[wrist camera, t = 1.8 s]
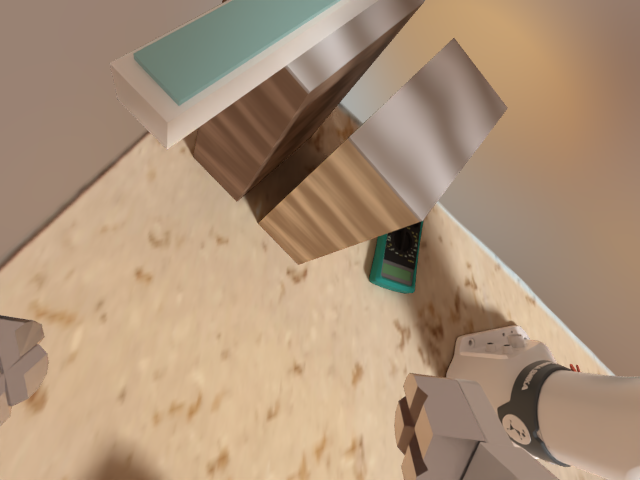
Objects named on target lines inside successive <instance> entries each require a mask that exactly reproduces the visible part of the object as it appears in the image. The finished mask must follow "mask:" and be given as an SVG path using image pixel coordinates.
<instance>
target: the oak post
mask: <svg viewBox="0 0 640 480" xmlns="http://www.w3.org/2000/svg"><path fill="white" fill-rule="evenodd" d="M506 110H507V106H506V105H505V104H504V102H503V101H502V100H501V99H500V97H499V96H498V95H497V93H496V92H495V91H494V90H493V88H492V87H491V85H490V84H489V83H488V82H487V80H486V79H485V78H484V76H483V75H482V74H481V72H480V71H479V70H478V68H477V67H476V66H475V65H474V63H473V62H472V61H471V59H470V58H469V57H468V55H467V54H466V53H465V52H464V50H463V49H462V48H461V46H460V45H459V44H458V42H457V41H456V40H455V38H453V39H452V40H451V41H450V42H449V43H448V44H447V45H446V46H445V47H444V48H443V49H442V50H441V51H440V52H438V53H437V54H436V55H435V56H434V57H433V58H432V59H431V60H430V61H429V62H428V63H427V64H426V65H425V66H424V67H423V68H421V69H420V70H419V71H418V73H416V74H415V75H414V76H413V77H412V78H411V79H410V80H409V81H408V82H407V83H406V84H405V85H404V86H402V87H401V88H400V89H399V90H398V91H397V92H396V93H395V94H394V95H393V96H392V97H391V98H390V99H389V100H388V101H387V102H386V103H385V104H383V105H382V106H381V107H380V108H379V109H378V110H377V111H376V112H375V113H374V114H373V115H372V116H371V117H370V118H369V119H368V120H367V121H365V122H364V123H363V124H362V125H361V126H360V127H359V128H358V129H357V130H356V131H355V132H354V133H353V134H352V135H351V136H350V137H349V138H348V139H346V140H345V141H344V142H343V143H342V144H341V145H340V146H339V147H338V148H337V149H336V150H335V151H334V152H333V153H332V154H331V155H330V156H329V157H327V158H326V159H325V160H324V161H323V162H322V163H321V164H320V165H319V166H318V167H317V168H316V169H315V170H314V171H313V172H312V173H311V174H310V175H308V176H307V177H306V178H305V179H304V180H303V181H302V182H301V183H300V184H299V185H298V186H297V187H296V188H295V189H294V190H293V191H292V192H291V193H289V194H288V195H287V196H286V197H285V198H284V199H283V200H282V201H281V202H280V203H279V204H278V205H277V206H276V207H275V208H274V209H273V210H272V211H270V212H269V213H268V214H267V215H266V216H265V217H264V218H263V219H262V220H261V221H260V222H259V223H258V224H259V225H260V226H261V227H262V228H263V229H264V230H265V231H266V232H267V233H268V234H269V235H270V236H271V237H272V238H273V239H274V240H275V241H276V242H277V243H278V244H279V245H280V246H281V247H282V248H283V249H284V250H285V251H286V252H287V254H288V255H289V256H290V257H291V258H292V259H293V260H294V261H295V262H296V263H297V264H298V265H299V264H302V263H305V262H308V261H310V260H313V259H316V258H319V257H322V256H325V255H327V254H330V253H333V252H336V251H339V250H342V249H344V248H347V247H350V246H353V245H356V244H359V243H361V242H364V241H367V240H370V239H373V238H375V237H378V236H381V235H384V234H387V233H390V232H392V231H395V230H398V229H401V228H404V227H407V226H409V225H412V224H415V223H418V222H421V221H423V220H424V218H425V217H426V216H427V214H428V213H429V212H430V210H431V209H432V208H433V206H434V205H435V204H436V202H437V201H438V199H439V198H440V197H441V196H442V194H443V193H444V192H445V190H446V189H447V188H448V186H449V185H450V184H451V183H452V181H453V180H454V179H455V177H456V176H457V175H458V173H459V172H460V171H461V169H462V168H463V167H464V165H465V164H466V163H467V161H468V160H469V159H470V157H471V156H472V155H473V153H474V152H475V151H476V149H477V148H478V147H479V146H480V144H481V143H482V142H483V140H484V139H485V137H486V136H487V135H488V134H489V132H490V131H491V129H492V128H493V127H494V126H495V124H496V123H497V121H498V120H499V119H500V118H501V116H502V115H503V114H504V112H505V111H506Z"/></svg>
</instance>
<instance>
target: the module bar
mask: <svg viewBox="0 0 640 480" xmlns="http://www.w3.org/2000/svg"><path fill="white" fill-rule="evenodd" d="M377 1H378V0H227V1H226V2H224V3H222V4H220V5H218V6H216V7H214V8H212V9H211V10H209V11H207V12H205V13H203V14H201V15H199V16H197V17H196V18H194V19H192V20H190V21H188V22H186V23H184V24H182V25H180V26H179V27H177V28H175V29H173V30H171V31H169V32H167V33H165V34H163V35H162V36H160V37H158V38H156V39H154V40H152V41H150V42H148V43H147V44H145V45H143V46H141V47H139V48H137V49H135V50H133V51H131V52H130V53H128V54H126V55H124V56H122V57H120V58H118V59H116V60H114V61H113V62H111V63H110V68H111V72H112V77H113V81H114V85H115V90H116V95H117V100H118V101H119V102H120V103H121V104H122V105H123V106H124V107H125V108H126V109H127V110H128V111H129V112H130V113H131V114H132V115H133V116H134V117H135V118H136V119H137V120H138V121H139V122H140V123H141V124H142V125H143V126H144V127H145V128H146V129H147V130H148V131H149V132H150V133H151V134H152V135H153V136H154V137H155V138H156V139H157V140H158V141H159V142H160V143H161V144H162V145H163V146H164V147H165V148H166V149H167V150H168V149H169V148H170V147H172V146H173V145H175V144H176V143H177V142H179V141H180V140H182V139H183V138H184V137H186V136H187V135H189V134H190V133H192V132H193V131H194V130H196V129H197V128H199V127H200V126H201V125H203V124H204V123H206V122H207V121H209V120H210V119H211V118H213V117H214V116H216V115H217V114H218V113H220V112H221V111H223V110H224V109H225V108H227V107H228V106H230V105H231V104H233V103H234V102H235V101H237V100H238V99H240V98H241V97H242V96H244V95H245V94H247V93H248V92H250V91H251V90H252V89H254V88H255V87H257V86H258V85H259V84H261V83H262V82H264V81H265V80H266V79H268V78H269V77H271V76H272V75H274V74H275V73H276V72H278V71H279V70H281V69H282V68H283V67H285V66H286V65H288V64H289V63H291V62H292V61H293V60H295V59H296V58H298V57H299V56H300V55H302V54H303V53H305V52H306V51H307V50H309V49H310V48H312V47H313V46H315V45H316V44H317V43H319V42H320V41H322V40H323V39H324V38H326V37H327V36H329V35H330V34H332V33H333V32H334V31H336V30H337V29H339V28H340V27H341V26H343V25H344V24H346V23H347V22H348V21H350V20H351V19H353V18H354V17H356V16H357V15H358V14H360V13H361V12H363V11H364V10H365V9H367V8H368V7H370V6H371V5H373V4H374V3H375V2H377Z"/></svg>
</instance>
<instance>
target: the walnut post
mask: <svg viewBox="0 0 640 480" xmlns="http://www.w3.org/2000/svg"><path fill="white" fill-rule="evenodd" d="M226 1H227V0H223V1H222V3H224V2H226ZM424 1H425V0H378V1H377V2H375V3H374V4H373V5H371V6H370V7H368V8H367V9H365V10H364V11H363V12H361V13H360V14H358V15H357V16H356V17H354V18H353V19H351V20H350V21H348V22H347V23H346V24H344V25H343V26H341V27H340V28H339V29H337V30H336V31H334V32H333V33H332V34H330V35H329V36H327V37H326V38H324V39H323V40H322V41H320V42H319V43H317V44H316V45H315V46H313V47H312V48H310V49H309V50H307V51H306V52H305V53H303V54H302V55H300V56H299V57H298V58H296V59H295V60H293V61H292V62H291V63H289V64H288V65H286V66H285V67H283V68H282V69H281V70H279V71H278V72H276V73H275V74H274V75H272V76H271V77H269V78H268V79H266V80H265V81H264V82H262V83H261V84H259V85H258V86H257V87H255V88H254V89H252V90H251V91H250V92H248V93H247V94H245V95H244V96H242V97H241V98H240V99H238V100H237V101H235V102H234V103H233V104H231V105H230V106H228V107H227V108H225V109H224V110H223V111H221V112H220V113H218V114H217V115H216V116H214V117H213V118H211V119H210V120H209V121H207V122H206V123H204V124H203V125H201V126H200V127H199V129H198V134H197V139H196V145H195V150H194V155H193V157H194V158H195V159H196V160H197V161H198V162H199V163H200V164H201V165H202V166H203V167H204V168H205V169H206V170H207V172H208V173H209V174H210V175H211V176H212V177H213V178H214V179H215V180H216V181H217V182H218V183H219V184H220V185H221V186H222V187H223V188H224V189H225V190H226V191H227V192H228V193H229V194H230V195H231V196H232V197H233V198H234V199H235V200H236V201H238V200H239V199H241V198H242V197H243V196H244V195H245V194H246V193H247V192H249V191H250V190H251V189H252V188H253V187H254V186H255V185H257V184H258V183H259V182H260V181H261V180H262V179H263V178H265V177H266V176H267V175H268V174H269V173H270V172H271V171H273V170H274V169H275V168H276V167H277V166H278V165H279V164H280V163H282V162H283V161H284V160H285V159H286V158H287V157H288V156H290V155H291V154H292V153H293V152H294V151H295V150H296V149H298V148H299V147H300V146H301V145H302V144H303V143H304V142H306V141H307V140H308V139H309V138H310V137H311V136H312V135H313V134H314V133H315V131H316V130H317V129H318V128H319V127H320V125H321V124H322V123H323V122H324V121H325V119H326V118H327V117H328V116H329V115H330V114H331V112H332V111H333V110H334V109H335V108H336V106H337V105H338V104H339V103H340V102H341V100H342V99H343V98H344V97H345V96H346V94H347V93H348V92H349V91H350V90H351V88H352V87H353V86H354V85H355V84H356V82H357V81H358V80H359V79H360V78H361V77H362V75H363V74H364V73H365V72H366V71H367V69H368V68H369V67H370V66H371V65H372V63H373V62H374V61H375V60H376V58H377V57H378V56H379V55H380V54H381V53H382V51H383V50H384V49H385V48H386V47H387V46H388V44H389V43H390V42H391V41H392V39H393V38H394V37H395V36H396V35H397V34H398V32H399V31H400V30H401V29H402V28H403V26H404V25H405V24H406V23H407V22H408V20H409V19H410V18H411V17H412V16H413V14H414V13H415V12H416V11H417V10H418V8H419V7H420V6H421V5H422V4H423V3H424Z"/></svg>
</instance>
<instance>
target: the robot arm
mask: <svg viewBox="0 0 640 480" xmlns="http://www.w3.org/2000/svg"><path fill="white" fill-rule="evenodd" d="M43 338H44V333H43V328H42V324H40V323H38V322H36V321H33V320H26V319H20V318H14V317H8V316H2V315H0V426H1V425H2V424H3V423H4V422H5V421H6V420H7V419H8V418H9V417H10V415H11V409H12V406H14V405H16V404H18V403H20V402H22V401H24V400H26V399H28V398H29V397H30V396H31V395H32V394H33V393H34V392H35V391H36V390H37V389H38V388H39V387H40V385H41V383H42V382H43V380H44V378H45V376H46V374H47V370H48V364H49V362H48V355H47V353H46V352H45V351H44V349H43V348H42V347H41V346H40V345H39V343H40V342H41V341H42V340H43ZM576 367H577V372H576V370H575V368H574V367H573V365H572V364H570V368H571V370H570V369H568V368H566V367H564V366H561V365H559V364H557V362H556V360H555V358H554V356H553V354H552V352H551V351H550V349H549V348H548V347H547V346H546V345H545V344H544V343H542V342H540V341H536V340H530V338H529V337H528V335H527V334H526V332H525V331H524V330H523V329H522V328H521V327H520V326H516V325H512V326H507V327H502V328H497V329H492V330H487V331H482V332H477V333H472V334H467V335H462V336H459V337H458V338H457V341H456V345H455V353H454V357H453V360H452V362H451V364H450V366H449V369H448V371H447V375H446V378H444V377H437V376H429V375H422V374H414V373H409V374H408V376H407V377H406V380H405V383H404V386H403V387H404V391H405V395H406V396H405V397H404V398H402V399H401V400H399V401H398V405H397V409H396V412H395V424H394V427H395V437H396V443H397V447H398V448H399V449H400V450H401V452H402V453H403V454H404V455H405V457H404V460H403V463H402V466H401V468H402V472H403V477H404V480H559V479H558V478H557V477H556V476H555V475H553V474H552V473H551V472H550V471H549V470H548V469H546V468H545V467H544V466H543V465H542V464H540V463H539V462H538V461H537V460H536V459H537V458H540V459H543V460H545V461H546V462H548V463H551V464H555V465H556V464H557V465H560V466H564V467H570V466H573V467H575V468H578V469H580V470H583V471H586V472H588V473H591V474H594V475H596V476H599V477H601V478H604V479H607V480H640V377H619V376H608V375H599V374H590V373H582V372H580V369H579V366H578V365H576Z"/></svg>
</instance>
